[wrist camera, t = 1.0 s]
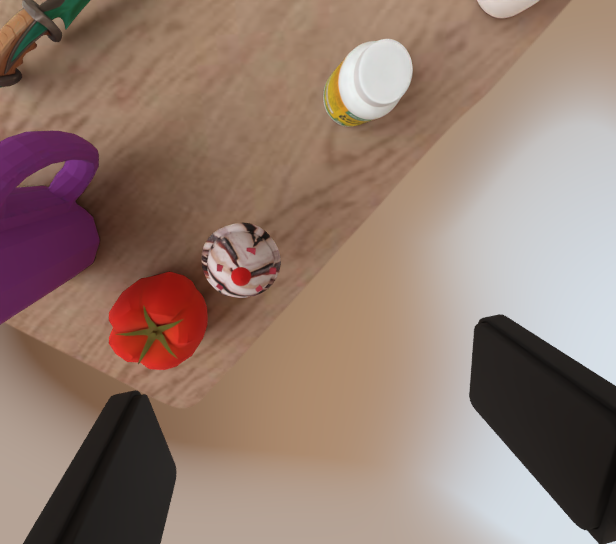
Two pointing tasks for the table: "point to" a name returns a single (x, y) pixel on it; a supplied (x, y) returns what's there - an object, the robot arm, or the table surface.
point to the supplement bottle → (368, 82)
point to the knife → (32, 32)
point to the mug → (43, 217)
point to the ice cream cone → (240, 260)
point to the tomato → (158, 321)
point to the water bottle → (505, 7)
